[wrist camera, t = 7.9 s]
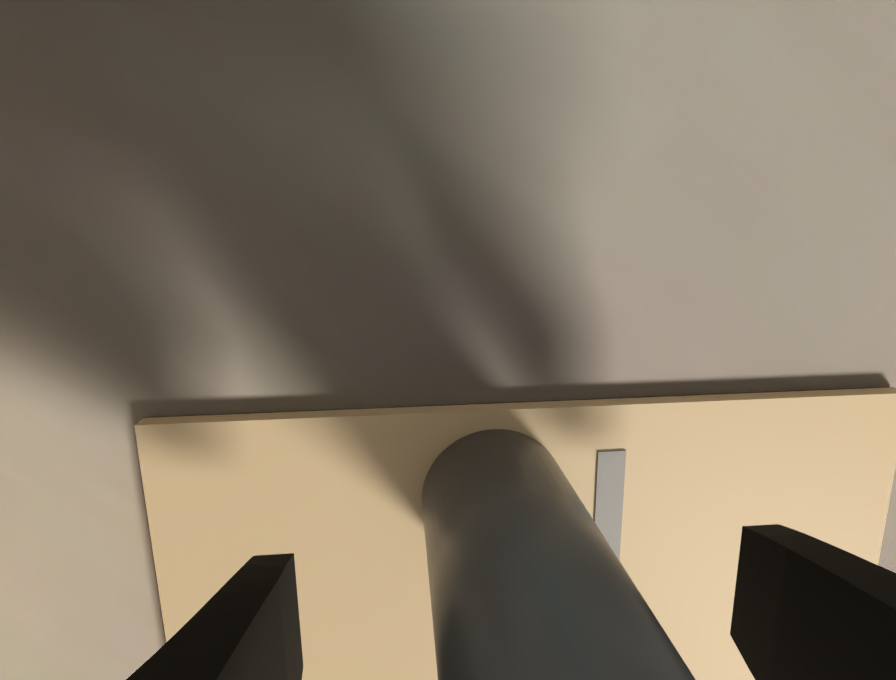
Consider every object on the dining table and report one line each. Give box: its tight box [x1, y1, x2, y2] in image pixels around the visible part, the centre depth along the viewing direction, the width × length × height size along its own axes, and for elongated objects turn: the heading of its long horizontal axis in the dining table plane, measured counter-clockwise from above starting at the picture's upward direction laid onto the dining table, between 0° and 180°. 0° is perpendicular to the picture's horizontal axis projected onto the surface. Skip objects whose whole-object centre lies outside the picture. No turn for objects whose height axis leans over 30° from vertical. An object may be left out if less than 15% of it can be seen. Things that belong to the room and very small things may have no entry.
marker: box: [422, 429, 696, 680], centre depth 8 cm, size 3×3×8 cm
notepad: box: [134, 387, 896, 680], centre depth 13 cm, size 12×16×1 cm
